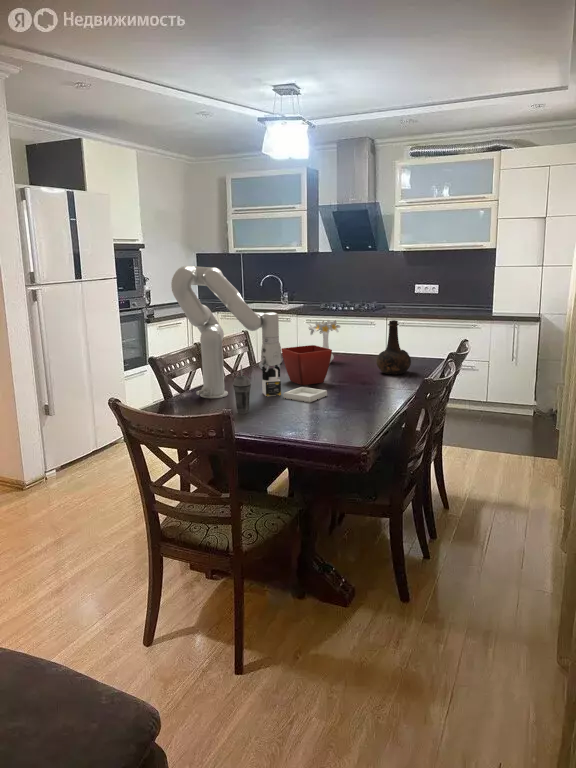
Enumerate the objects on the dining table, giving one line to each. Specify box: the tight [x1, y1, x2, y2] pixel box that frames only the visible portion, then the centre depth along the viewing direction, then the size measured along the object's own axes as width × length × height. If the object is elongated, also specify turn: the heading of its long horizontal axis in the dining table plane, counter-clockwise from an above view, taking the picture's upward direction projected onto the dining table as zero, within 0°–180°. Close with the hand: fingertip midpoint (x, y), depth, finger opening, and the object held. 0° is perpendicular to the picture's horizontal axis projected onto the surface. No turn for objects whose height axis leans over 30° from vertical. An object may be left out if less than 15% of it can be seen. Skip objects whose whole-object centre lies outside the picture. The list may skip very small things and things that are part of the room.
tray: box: [283, 386, 328, 404], centre depth 261 cm, size 14×14×2 cm
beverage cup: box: [232, 364, 252, 415], centre depth 235 cm, size 7×7×20 cm
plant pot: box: [281, 344, 333, 386], centre depth 289 cm, size 19×19×17 cm
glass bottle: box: [375, 319, 412, 376], centre depth 306 cm, size 18×18×28 cm
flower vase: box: [308, 319, 341, 364], centre depth 338 cm, size 13×18×25 cm
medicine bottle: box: [261, 367, 282, 397], centre depth 266 cm, size 7×7×12 cm
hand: (271, 378), depth 265 cm, fingers closed on medicine bottle, 7 cm apart
